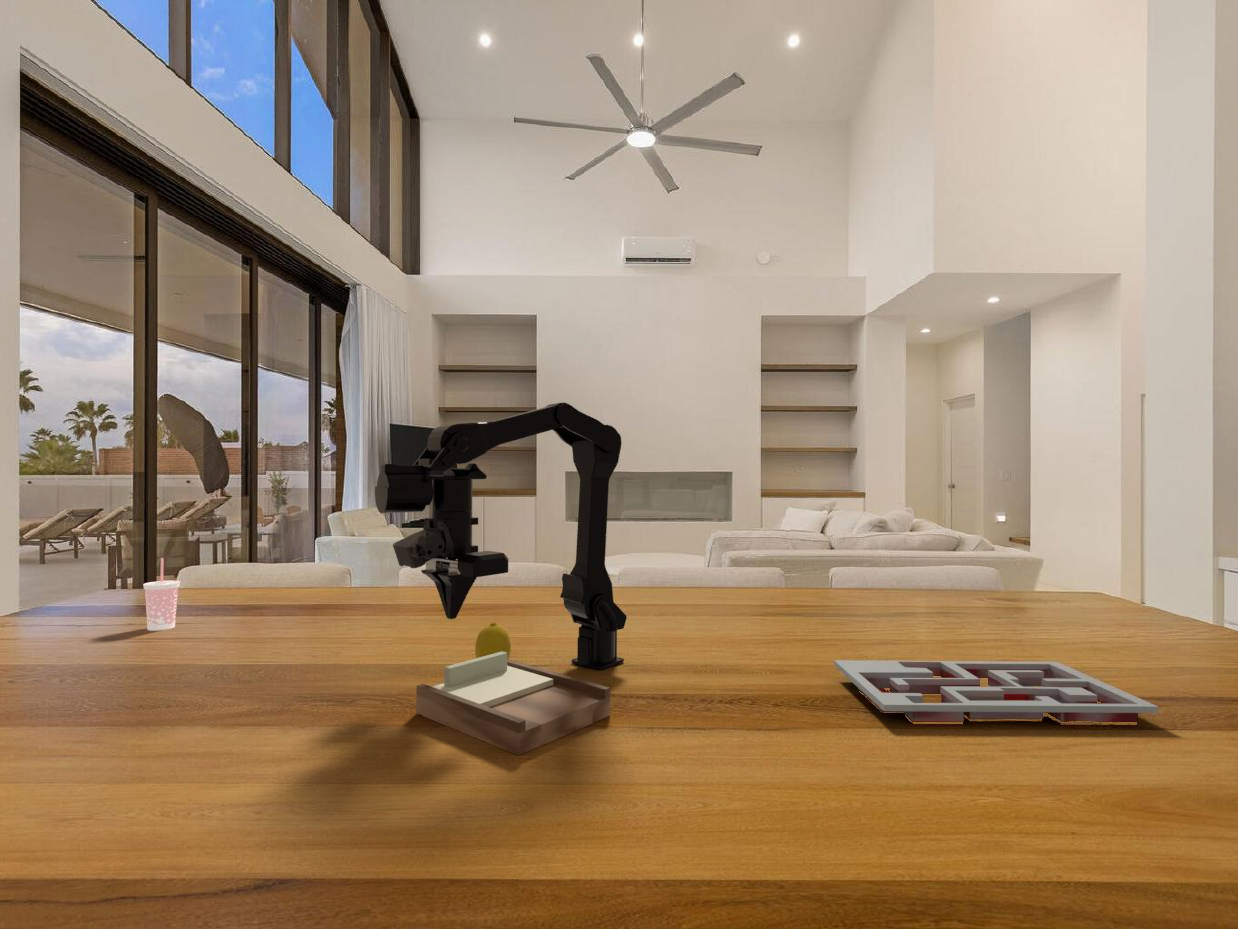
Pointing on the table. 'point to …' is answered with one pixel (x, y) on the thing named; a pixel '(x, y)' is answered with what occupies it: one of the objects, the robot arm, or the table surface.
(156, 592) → the beverage cup
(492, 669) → the cover
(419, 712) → the sliding lid box
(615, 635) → the robot arm
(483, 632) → the lemon
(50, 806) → the table surface
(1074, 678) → the maze game
